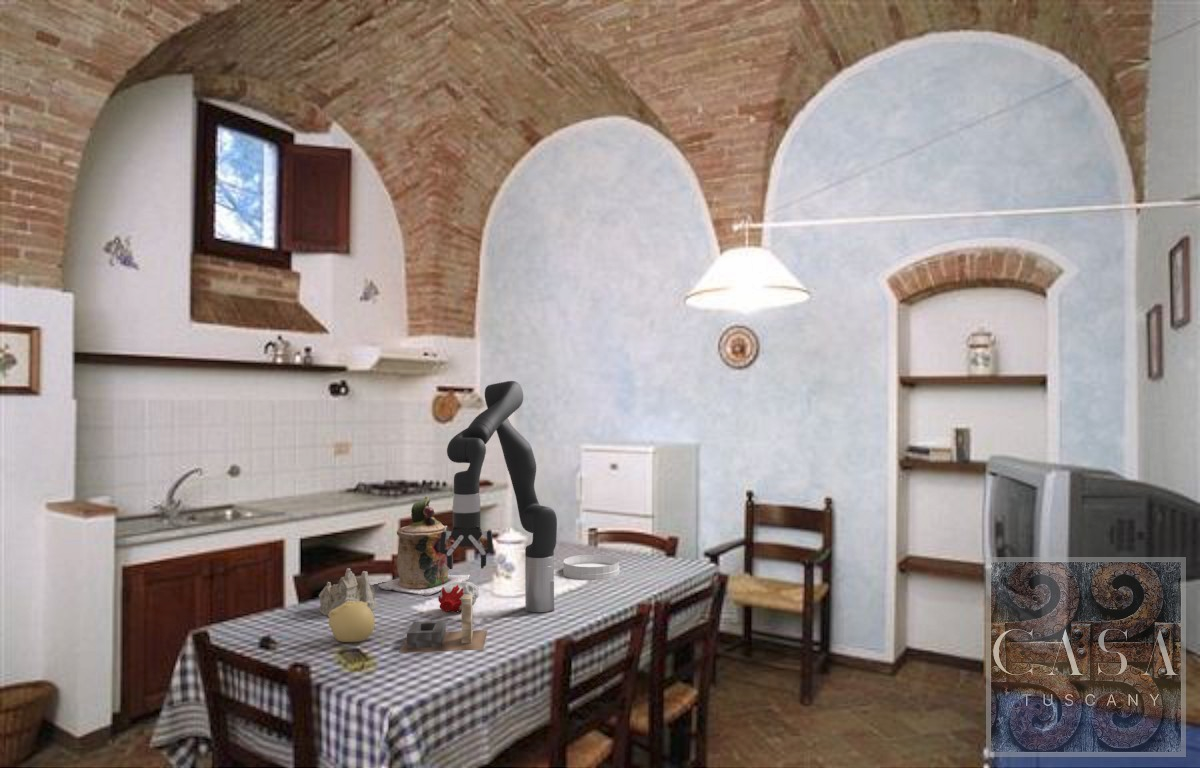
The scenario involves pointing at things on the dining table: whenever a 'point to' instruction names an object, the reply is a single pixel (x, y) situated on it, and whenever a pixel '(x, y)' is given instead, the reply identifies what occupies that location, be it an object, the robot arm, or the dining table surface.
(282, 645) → the dining table surface
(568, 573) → the dish
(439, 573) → the cookie jar
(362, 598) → the ceramic cottage
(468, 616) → the beige rectangular bar
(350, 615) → the cream sphere
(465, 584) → the red-white knobbly ovoid
